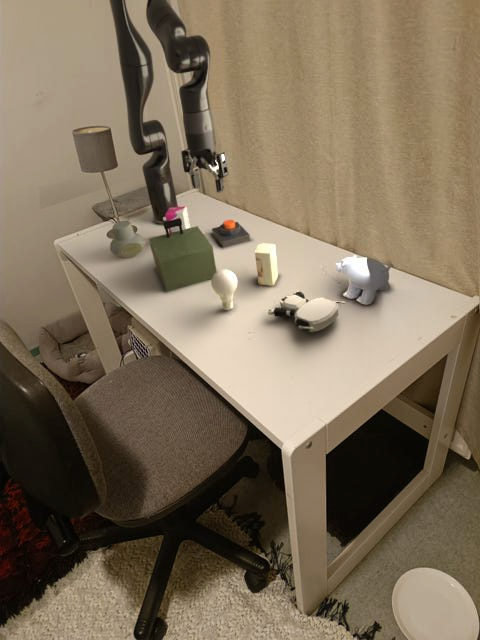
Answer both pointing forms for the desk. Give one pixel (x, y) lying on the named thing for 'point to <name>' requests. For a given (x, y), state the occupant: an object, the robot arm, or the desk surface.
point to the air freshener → (126, 240)
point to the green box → (186, 269)
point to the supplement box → (178, 213)
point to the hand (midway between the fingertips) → (208, 189)
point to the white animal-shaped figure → (364, 277)
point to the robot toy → (307, 311)
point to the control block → (230, 235)
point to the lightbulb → (225, 286)
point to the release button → (229, 224)
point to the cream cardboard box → (266, 264)
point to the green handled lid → (179, 242)
